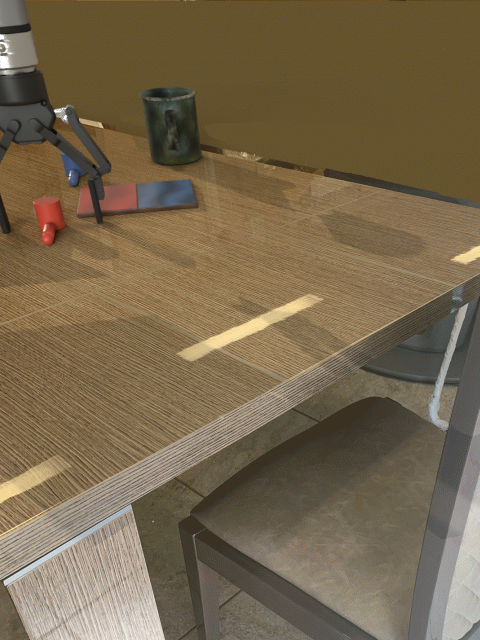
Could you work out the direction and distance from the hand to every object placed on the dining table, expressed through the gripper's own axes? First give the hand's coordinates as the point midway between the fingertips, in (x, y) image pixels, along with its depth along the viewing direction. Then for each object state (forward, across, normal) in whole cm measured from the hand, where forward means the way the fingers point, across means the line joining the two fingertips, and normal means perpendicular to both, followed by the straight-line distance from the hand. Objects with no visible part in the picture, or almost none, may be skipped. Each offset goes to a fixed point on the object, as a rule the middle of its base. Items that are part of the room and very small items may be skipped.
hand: (54, 226), depth 99 cm
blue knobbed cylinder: (0, +2, +25) cm, 25 cm away
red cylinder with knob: (0, 0, -3) cm, 3 cm away
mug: (0, +21, +32) cm, 38 cm away
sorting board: (0, +13, +10) cm, 16 cm away
